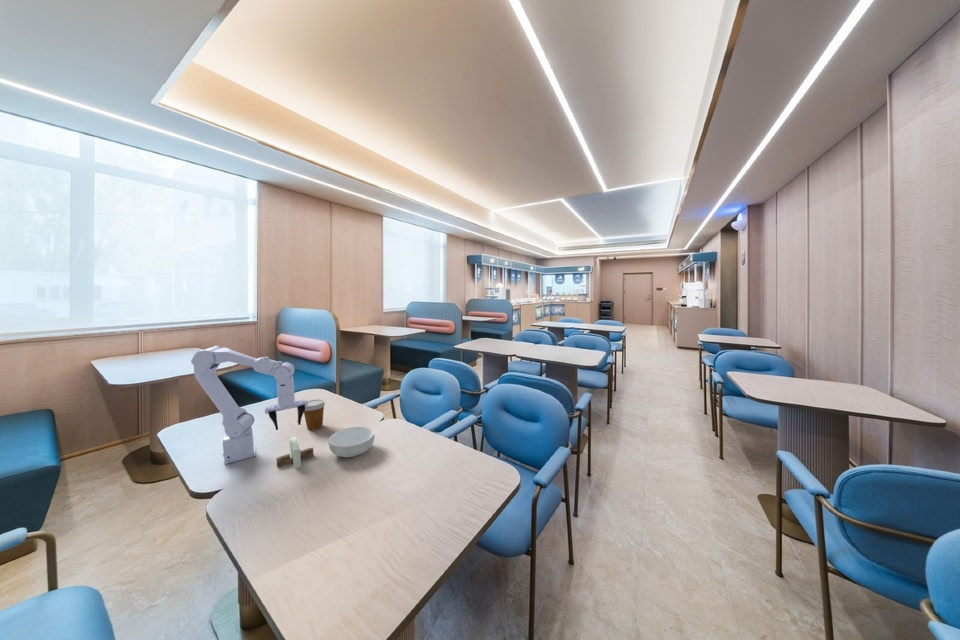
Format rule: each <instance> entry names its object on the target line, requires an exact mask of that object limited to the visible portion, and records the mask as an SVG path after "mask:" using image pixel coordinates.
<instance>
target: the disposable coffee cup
mask: <svg viewBox="0 0 960 640" xmlns="http://www.w3.org/2000/svg"><path fill="white" fill-rule="evenodd" d="M307 401H308V406H305V411H304V413H303V416H304V420H305V423H306V424H305V425H306V429H307V431H316V430H319V429H320V430H321V428H322V427H323V423H324V410H325V405H326V403H325V401H324V400H323V399H319V398H318V399H311V400H307Z"/></svg>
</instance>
